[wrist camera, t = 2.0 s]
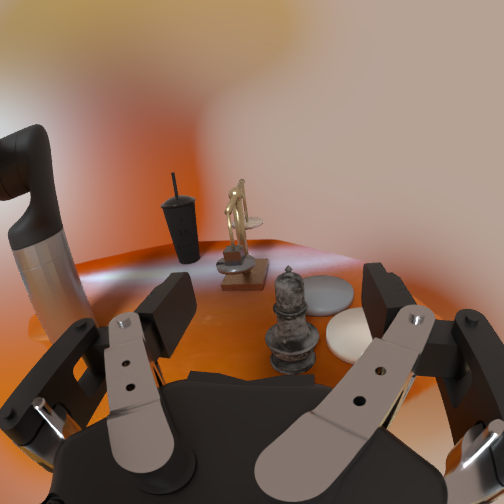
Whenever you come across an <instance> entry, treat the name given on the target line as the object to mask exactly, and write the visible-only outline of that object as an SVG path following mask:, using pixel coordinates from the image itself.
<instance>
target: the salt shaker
mask: <svg viewBox="0 0 504 504" xmlns="http://www.w3.org/2000/svg"><path fill="white" fill-rule="evenodd" d="M285 271H286V272H285V273H283V274H281V275H279V276H278V277H277V278H276V280H275V294H276V303H275V304H274V306H273V311H274V313H275V314H276V315H277V324H275V325H273V326H272V327H271V328H270V329H269V330H268V331H267V333H266V335H265V341H266V344H267V346H268V347H269V348H270V350H271V351H272V355H271V358H270V362H271V365H272V366H273V368H274V369H275V370H277V371H278V372H280V373H283V374H287V375H297V374H301V373H304V372H306V371H308V370H309V369H310V368H311V367H312V366H313V365H314V363H315V360H316V355H315V353H314V351H313V349H314V348H315V345H316V344H317V342H318V340H319V332H318V330H317V328H316V327H315V326H314V325H312V324H311V323H309V322H306V312H307V311H308V308H309V307H308V304H307V302H306V301H305V297H304V281H303V278H302V277H301V276H300V275H299V274H296V273H293V272H291V271H292V268H291V267H289V266H287V267H286V269H285Z"/></svg>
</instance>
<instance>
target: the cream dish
mask: <svg viewBox="0 0 504 504" xmlns="http://www.w3.org/2000/svg"><path fill="white" fill-rule="evenodd" d="M371 342H372V337H371V333H370V330H369V327H368V324H367V320H366V317H365V314H364V311H363V308H362V307H359V308H352V309H348V310H345V311H342V312H340V313H338V314H337V315H335V316H334V317H333V318H332V319H331V320H330V321H329V323H328V325H327V329H326V343H327V346H328V348H329V350H330V351H331V352H332V353H333V354H334V355H335V356H336V357H337V358H339V359H340V360H342V361H344V362H347V363H350V364H353V365H354V364H355V362H356V361H357V360H358V359H359V357H360V356H361V355H362V353H363V352H364V351H365V350H366V348H367V347H368V346H369V344H370V343H371Z"/></svg>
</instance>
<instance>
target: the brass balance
mask: <svg viewBox="0 0 504 504" xmlns="http://www.w3.org/2000/svg"><path fill="white" fill-rule="evenodd" d="M241 189H242V190H241ZM229 198H230V201H229V203H228V205H227V207H226V210H225V214H226V215H227V221H228V228H229V234H230V241H231V246H227V247H226V249H225V250H224V252H223V255H224V258H222V259H220V260H219V261H218V262H217V264H216V266H217V270H218V272H219V273H222V274H226V276H225V278H224V280H223V282H222V284H221V287H222V291H238V290H263V286H264V282H265V278H266V273H267V269H268V265H269V263H268V259H254V257H252V256H250V255H249V254H248V247H247V239H246V232H245V230H247V229H253V228H257V227H259V226H261V225H262V224H263V221H262V219H261V218H258V217H248V215H247V207H246V199H245V191H244V179H240V180H239V183H238V185H237V187H236V188H233V189H231V190H230V191H229ZM242 198H243V204H244V211H245V218H244V217H243V209H242V202H241V199H242ZM232 210H233V213H234V220H235V221H234V222H232V225H231V218H230V215H231V213H232ZM232 227H233V229H236V234H237V241H238V245H236V246H235V245H234V239H233V232H232Z"/></svg>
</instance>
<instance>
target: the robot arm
mask: <svg viewBox="0 0 504 504" xmlns="http://www.w3.org/2000/svg"><path fill="white" fill-rule="evenodd" d="M28 192H30V193H31V201H30V205H29V206H28V208H27V210H26V212H25V213H24V214H23V216H22V217H21V218H20V219H19V220H18V221H17V222H16V223H15V224H14V225H13V226H12V227H11V228H10V229H9V232H8V239H9V242H10V246H11V249H12V252H13V255H14V258H15V261H16V264H17V267H18V269H19V272H20V274H21V277H22V280H23V282H24V285H25V287H26V290H27V292H28V296H29V299H30V301H31V303H32V305H33V307H34V310H35V311H36V314H37V316H38V318H39V320H40V322H41V324H42V326H43V328H44V330H45V332H46V334H47V335H48V337H49V339H50V341H51V343H53V345H52V346H51V347H50V349H49V350H48V351H47V352H46V353H45V354H44V355H43V357H42V358H41V359H40V360H39V361H38V362H37V364H36V365H35V366H34V367H33V368H32V369H31V371H30V372H29V373H28V374H27V376H26V377H25V378H24V379H23V380H22V382H21V383H20V384H19V385H18V387H17V388H16V389H15V390H14V392H13V393H12V394H11V396H10V397H9V398H8V399H7V401H6V402H5V403H4V405H3V406H2V407H1V409H0V428H1V430H2V431H3V432H4V433H5V434H6V435H7V436H8V437H9V438H10V439H11V440H12V441H13V443H14V444H15V445H16V446H17V447H19V448H20V449H21V450H22V451H23V452H24V453H25V454H26V455H27V456H28V457H30V458H31V459H32V460H34V461H35V462H37V463H38V464H39V465H40V466H42V467H43V468H44V469H46V470H47V471H48V472H51V473H53V477H52V483H51V488H50V491H49V494H48V496H47V498H46V499H45V500H44V501H43V502H42V503H41V504H490V503H492V502H493V501H495V500H497V499H498V498H500V497H501V496H503V495H504V345H503V343H502V341H501V340H500V338H499V337H498V335H497V334H496V332H495V331H494V329H493V328H492V326H491V325H490V323H489V322H488V320H487V319H486V318H485V316H484V315H483V314H481V313H480V312H478V311H476V310H472V309H463V310H460V311H459V312H457V314H456V316H455V319H454V321H446V320H437V319H435V315H434V313H433V312H432V311H431V310H430V309H428V308H427V307H424V306H421V305H417V303H416V302H415V300H414V299H413V297H412V295H411V294H410V292H409V291H408V290H407V288H406V286H405V285H404V283H403V281H402V280H401V278H400V277H398V276H397V275H395V274H394V273H387V272H386V270H385V268H384V267H383V265H382V264H381V263H366V264H364V267H363V281H362V296H361V299H362V308H363V311H364V314H365V317H366V320H367V324H368V327H369V330H370V333H371V337H372V342H371V343H370V344H369V346H368V347H367V348H366V350H365V351H364V352H363V353H362V355H361V356H360V357H359V359H358V360H357V361H356V362H355V364H354V365H353V366H352V367H351V369H350V370H349V371H348V372H347V373H346V375H345V376H344V377H343V378H342V379H341V381H340V382H339V383H338V384H337V385H336V386H335V388H334V389H333V388H331V387H328V386H324V385H320V384H315V383H314V374H312V375H281V376H275V377H270V378H264V379H258V380H252V381H246V380H242V379H238V378H234V377H230V376H227V375H223V374H220V373H209V372H198V371H190V373H189V375H188V378H187V379H184V380H178V381H174V382H171V383H168V384H166V382H165V379H164V377H163V374H162V371H161V368H160V365H159V363H158V361H157V360H158V358H159V357H162V358H170V357H171V355H172V354H173V352H174V350H175V348H176V346H177V345H178V343H179V341H180V339H181V338H182V336H183V334H184V332H185V330H186V329H187V327H188V325H189V323H190V322H191V320H192V318H193V316H194V315H195V313H196V308H197V304H196V298H195V294H194V290H193V286H192V282H191V278H190V275H189V274H188V273H187V272H179V273H171V274H170V276H169V277H168V278H167V279H166V280H165V281H164V282H163V283H162V284H160V285H159V286H157V287H155V288H154V289H153V291H152V292H151V293H150V295H148V296H147V297H146V300H144V301H143V302H142V303H141V304H140V305H139V306H138V308H137V309H136V310H135V311H134V312H126V313H122V314H120V315H117V316H116V317H114V318H113V319H112V320H111V321H110V323H109V326H107V327H99V324H98V322H97V320H96V318H95V316H94V313H93V311H92V309H91V306H90V304H89V301H88V299H87V296H86V294H85V291H84V289H83V286H82V283H81V281H80V278H79V275H78V273H77V270H76V267H75V264H74V261H73V258H72V255H71V252H70V248H69V246H68V242H67V239H66V235H65V232H64V229H63V224H62V221H61V216H60V211H59V206H58V201H57V196H56V191H55V184H54V177H53V169H52V158H51V149H50V143H49V139H48V135H47V132H46V130H45V129H44V127H43V126H41V125H39V124H35V125H32V126H29V127H27V128H24V129H22V130H19V131H17V132H15V133H13V134H10V135H8V136H6V137H4V138H2V139H0V200H1V201H6V200H10V199H13V198H15V197H17V196H20V195H23V194H25V193H28ZM81 356H82V358H83V360H84V362H85V363H86V365H87V367H88V368H87V369H86V371H85V372H84V374H83V375H82V376H81V378H80V379H79V381H78V382H77V380H76V379H75V377H74V375H73V368H74V366H75V364H76V363H77V362H78V360H79V359H80V358H81ZM469 368H470V369H469ZM417 375H418V376H430V377H436V381H437V384H438V387H439V390H440V393H441V396H442V400H443V403H444V406H445V410H446V414H447V417H448V421H449V425H450V429H451V433H452V437H453V442H454V448H453V449H452V450H451V451H450V452H449V454H448V456H447V459H446V471H445V475H444V477H443V476H442V474H441V473H440V472H439V470H438V469H437V468H435V467H434V466H433V465H431V464H430V463H429V462H428V461H426V460H425V459H424V458H422V457H421V456H420V455H418V454H417V453H416V452H415V451H413V450H412V449H411V448H410V447H408V446H407V445H406V444H404V443H403V442H402V441H401V440H399V439H398V438H397V437H396V436H394V435H393V434H392V433H391V432H389V431H388V428H389V427H390V425H391V423H392V421H393V419H394V418H395V416H396V414H397V412H398V410H399V408H400V407H401V405H402V403H403V401H404V399H405V397H406V396H407V394H408V392H409V390H410V388H411V386H412V384H413V382H414V380H415V378H416V376H417ZM106 392H107V393H108V401H109V408H110V414H109V415H108V416H107V417H106V418H104V419H102V420H100V421H98V422H96V423H94V424H92V425H90V426H88V427H86V426H87V424H88V422H89V421H90V419H91V417H92V415H93V414H94V412H95V410H96V408H97V407H98V405H99V403H100V402H101V400H102V398H103V397H104V395H105V393H106Z"/></svg>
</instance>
